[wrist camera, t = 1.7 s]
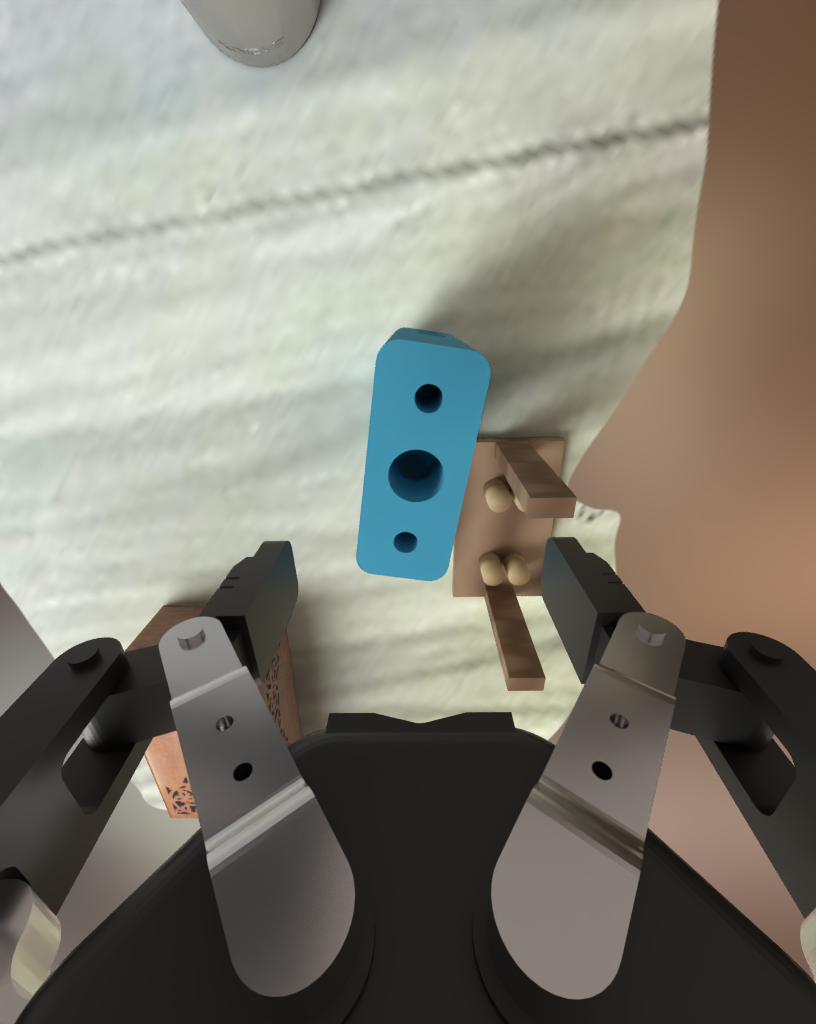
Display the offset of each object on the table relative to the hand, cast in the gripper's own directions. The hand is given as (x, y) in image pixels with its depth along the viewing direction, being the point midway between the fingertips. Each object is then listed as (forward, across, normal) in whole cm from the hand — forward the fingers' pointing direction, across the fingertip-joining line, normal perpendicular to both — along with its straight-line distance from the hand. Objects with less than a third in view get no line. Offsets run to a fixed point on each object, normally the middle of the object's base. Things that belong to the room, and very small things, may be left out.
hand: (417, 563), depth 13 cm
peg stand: (+28, -9, +13) cm, 32 cm away
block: (+28, 0, 0) cm, 28 cm away
